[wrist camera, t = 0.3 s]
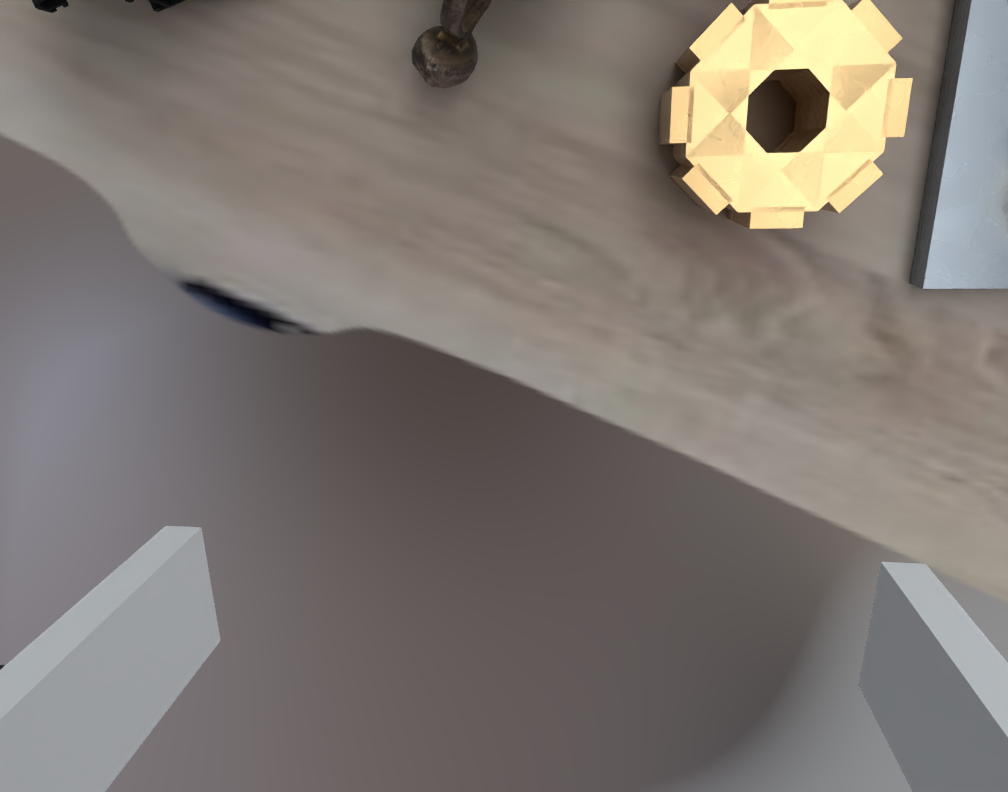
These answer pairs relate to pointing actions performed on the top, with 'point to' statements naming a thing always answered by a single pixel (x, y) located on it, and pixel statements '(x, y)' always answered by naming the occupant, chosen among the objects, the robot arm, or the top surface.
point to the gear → (818, 112)
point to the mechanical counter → (450, 44)
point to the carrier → (968, 159)
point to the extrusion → (49, 3)
